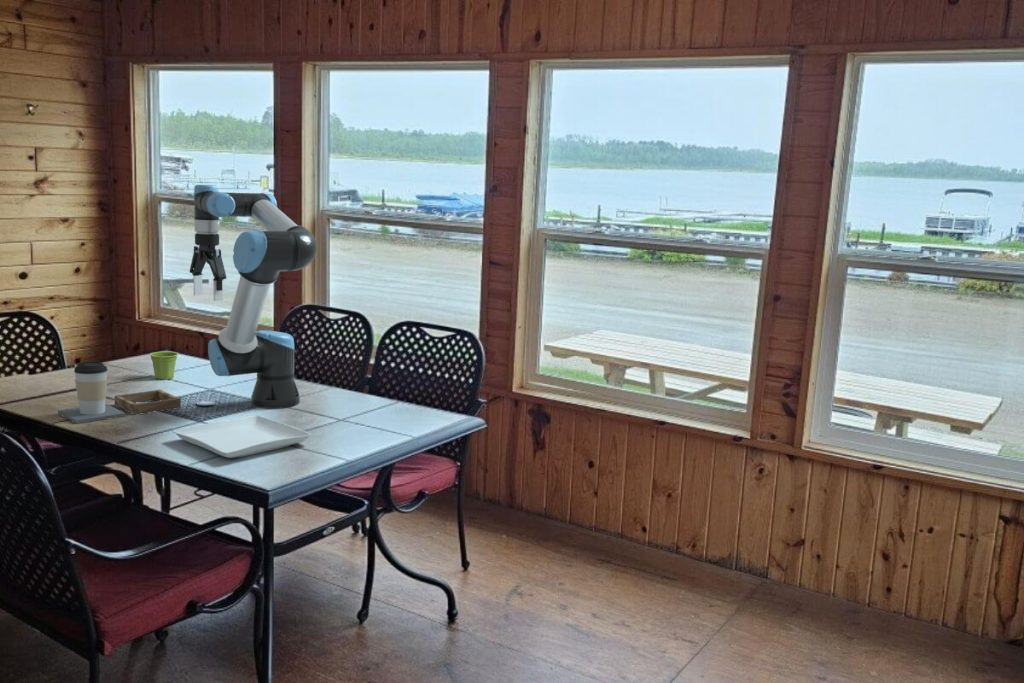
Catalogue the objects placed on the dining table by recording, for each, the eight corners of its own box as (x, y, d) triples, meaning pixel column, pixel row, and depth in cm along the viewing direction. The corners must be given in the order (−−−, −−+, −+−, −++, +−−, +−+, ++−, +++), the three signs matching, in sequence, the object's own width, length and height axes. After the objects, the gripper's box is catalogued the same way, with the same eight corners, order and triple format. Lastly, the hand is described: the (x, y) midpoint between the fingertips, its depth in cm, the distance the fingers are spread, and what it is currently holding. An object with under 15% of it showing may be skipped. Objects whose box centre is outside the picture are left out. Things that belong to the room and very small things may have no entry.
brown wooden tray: (180, 408, 283) (180, 398, 282) (134, 415, 272) (134, 405, 272) (160, 398, 292) (159, 389, 292) (114, 405, 282) (114, 395, 282)
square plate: (313, 446, 252) (313, 432, 251) (225, 466, 231) (225, 451, 231) (257, 425, 269) (257, 412, 268) (171, 442, 249) (170, 429, 248)
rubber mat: (125, 416, 271) (124, 413, 270) (76, 423, 261) (75, 420, 260) (106, 406, 280) (105, 403, 280) (58, 413, 270) (58, 410, 270)
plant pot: (151, 375, 323) (150, 351, 322) (179, 374, 326) (178, 351, 325) (149, 381, 315) (148, 356, 313) (178, 380, 318) (177, 356, 316)
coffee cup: (96, 406, 276) (94, 357, 274) (115, 411, 272) (114, 362, 269) (69, 412, 269) (66, 362, 266) (88, 417, 264) (86, 366, 262)
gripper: (236, 235, 289) (237, 301, 293) (199, 230, 306) (200, 292, 310) (214, 236, 283) (215, 303, 287) (178, 230, 301) (179, 293, 304)
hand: (207, 297), depth 298 cm, fingers open, 13 cm apart
